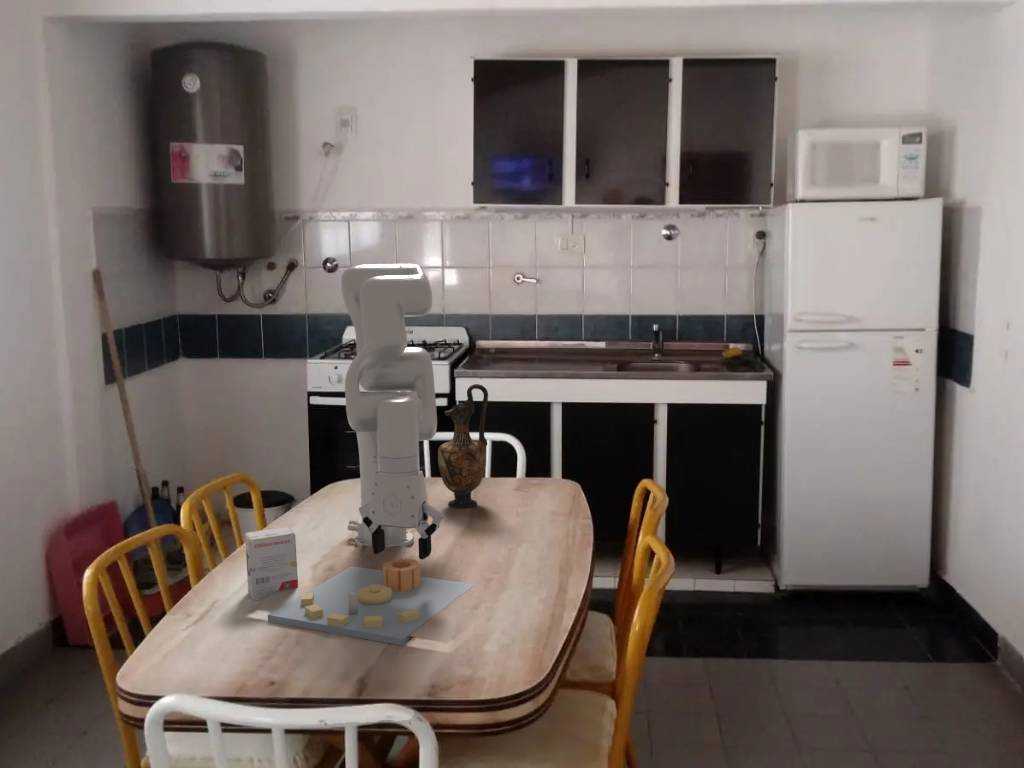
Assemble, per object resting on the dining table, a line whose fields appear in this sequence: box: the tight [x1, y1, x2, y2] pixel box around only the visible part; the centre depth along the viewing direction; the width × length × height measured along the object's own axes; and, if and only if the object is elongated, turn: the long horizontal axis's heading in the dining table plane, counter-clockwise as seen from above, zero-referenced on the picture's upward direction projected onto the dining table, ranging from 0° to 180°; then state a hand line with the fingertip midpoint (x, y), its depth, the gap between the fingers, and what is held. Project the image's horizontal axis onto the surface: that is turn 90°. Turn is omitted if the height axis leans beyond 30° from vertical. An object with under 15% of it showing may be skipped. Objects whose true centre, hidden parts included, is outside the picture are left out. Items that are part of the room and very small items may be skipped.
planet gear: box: [382, 558, 421, 592], centre depth 188 cm, size 7×7×4 cm
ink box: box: [244, 526, 299, 601], centre depth 187 cm, size 9×5×12 cm, turn 116°
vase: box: [437, 383, 489, 509], centre depth 243 cm, size 12×12×30 cm
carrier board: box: [267, 565, 475, 647], centre depth 181 cm, size 27×27×5 cm
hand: (401, 554), depth 186 cm, fingers open, 9 cm apart
